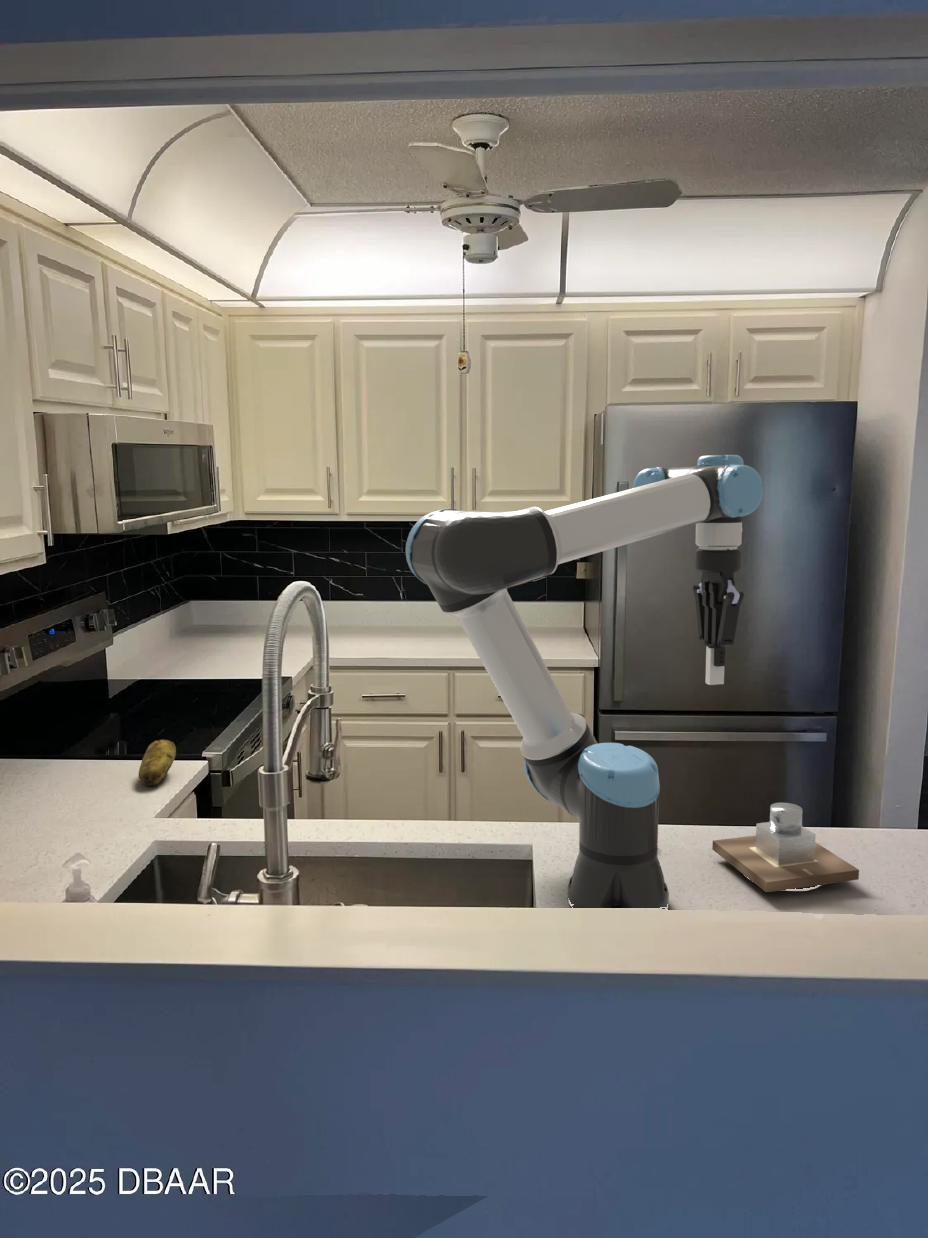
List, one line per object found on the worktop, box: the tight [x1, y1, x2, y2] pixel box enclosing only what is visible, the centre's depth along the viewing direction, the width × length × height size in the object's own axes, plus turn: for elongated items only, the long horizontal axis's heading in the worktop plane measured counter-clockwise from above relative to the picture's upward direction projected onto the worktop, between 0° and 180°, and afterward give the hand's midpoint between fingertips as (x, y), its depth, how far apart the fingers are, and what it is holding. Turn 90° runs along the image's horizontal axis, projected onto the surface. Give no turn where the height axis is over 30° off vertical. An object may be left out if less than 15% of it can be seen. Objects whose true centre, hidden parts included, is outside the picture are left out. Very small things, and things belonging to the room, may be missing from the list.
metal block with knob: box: [755, 802, 816, 866], centre depth 138 cm, size 6×6×8 cm
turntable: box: [712, 834, 860, 893], centre depth 139 cm, size 16×16×2 cm
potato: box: [138, 739, 177, 787], centre depth 190 cm, size 8×13×8 cm, turn 165°
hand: (714, 683), depth 149 cm, fingers closed
